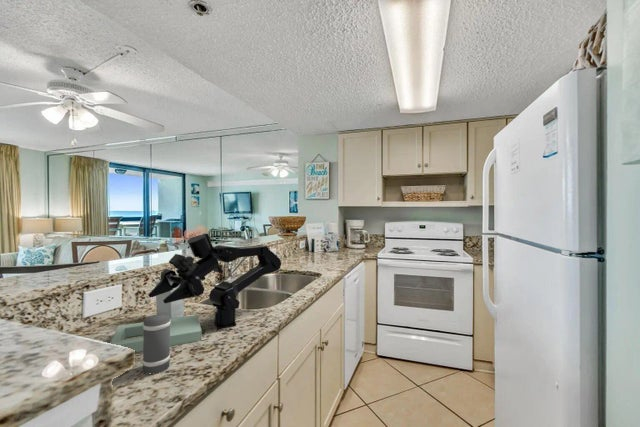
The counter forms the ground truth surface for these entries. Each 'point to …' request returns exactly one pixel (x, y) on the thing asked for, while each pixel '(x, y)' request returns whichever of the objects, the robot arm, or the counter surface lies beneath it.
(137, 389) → the counter surface
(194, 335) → the pale green recessed tray
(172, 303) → the skincare box
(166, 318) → the white-banded grey cylinder
